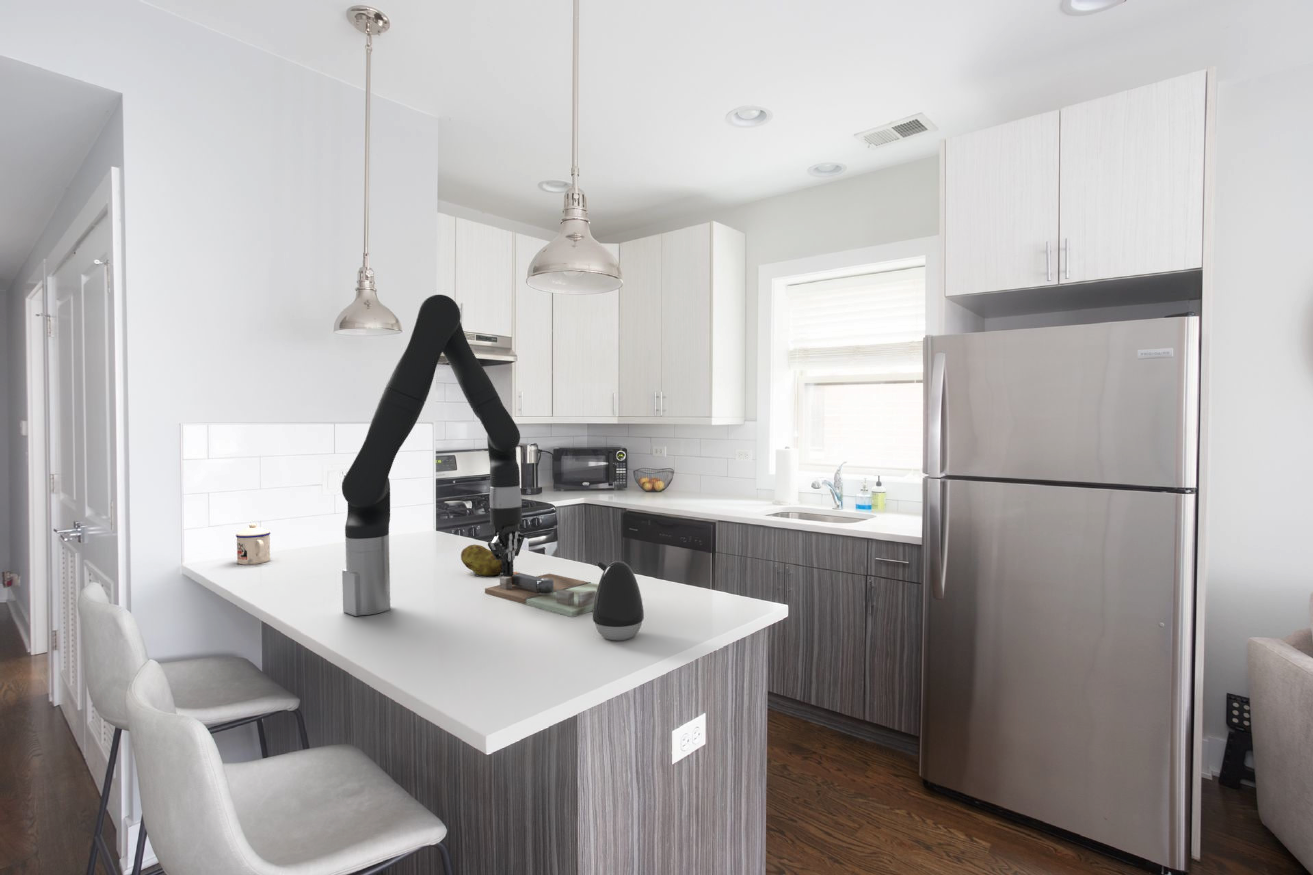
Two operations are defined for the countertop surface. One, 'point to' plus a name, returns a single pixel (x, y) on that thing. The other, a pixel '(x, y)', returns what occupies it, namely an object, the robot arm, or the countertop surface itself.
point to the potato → (481, 560)
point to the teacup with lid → (253, 545)
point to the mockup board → (551, 595)
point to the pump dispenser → (617, 603)
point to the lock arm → (533, 582)
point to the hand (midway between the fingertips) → (507, 575)
